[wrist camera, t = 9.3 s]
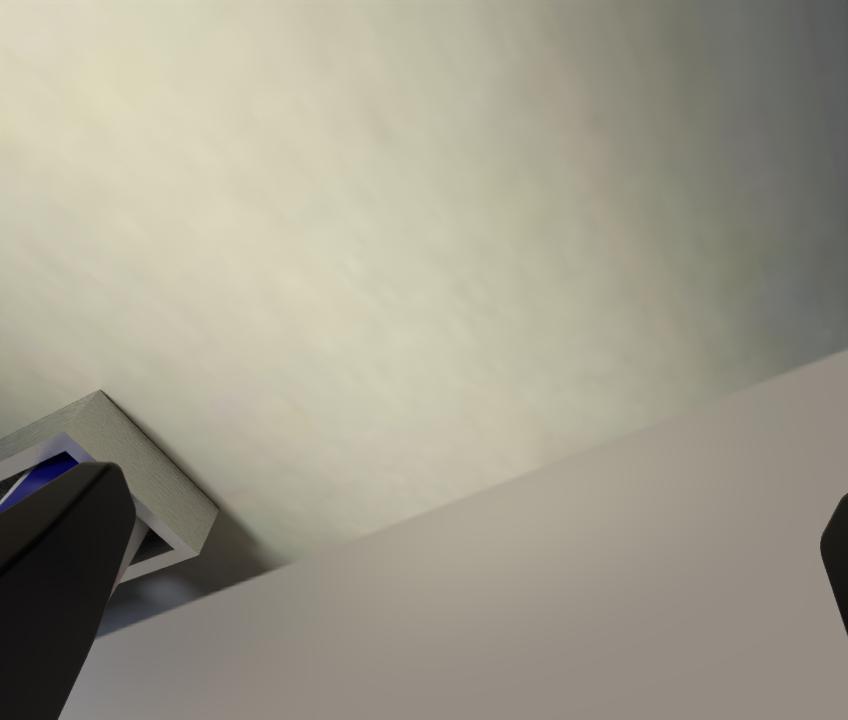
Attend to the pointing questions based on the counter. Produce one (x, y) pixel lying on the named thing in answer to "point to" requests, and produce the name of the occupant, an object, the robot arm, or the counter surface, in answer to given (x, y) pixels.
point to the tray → (143, 469)
